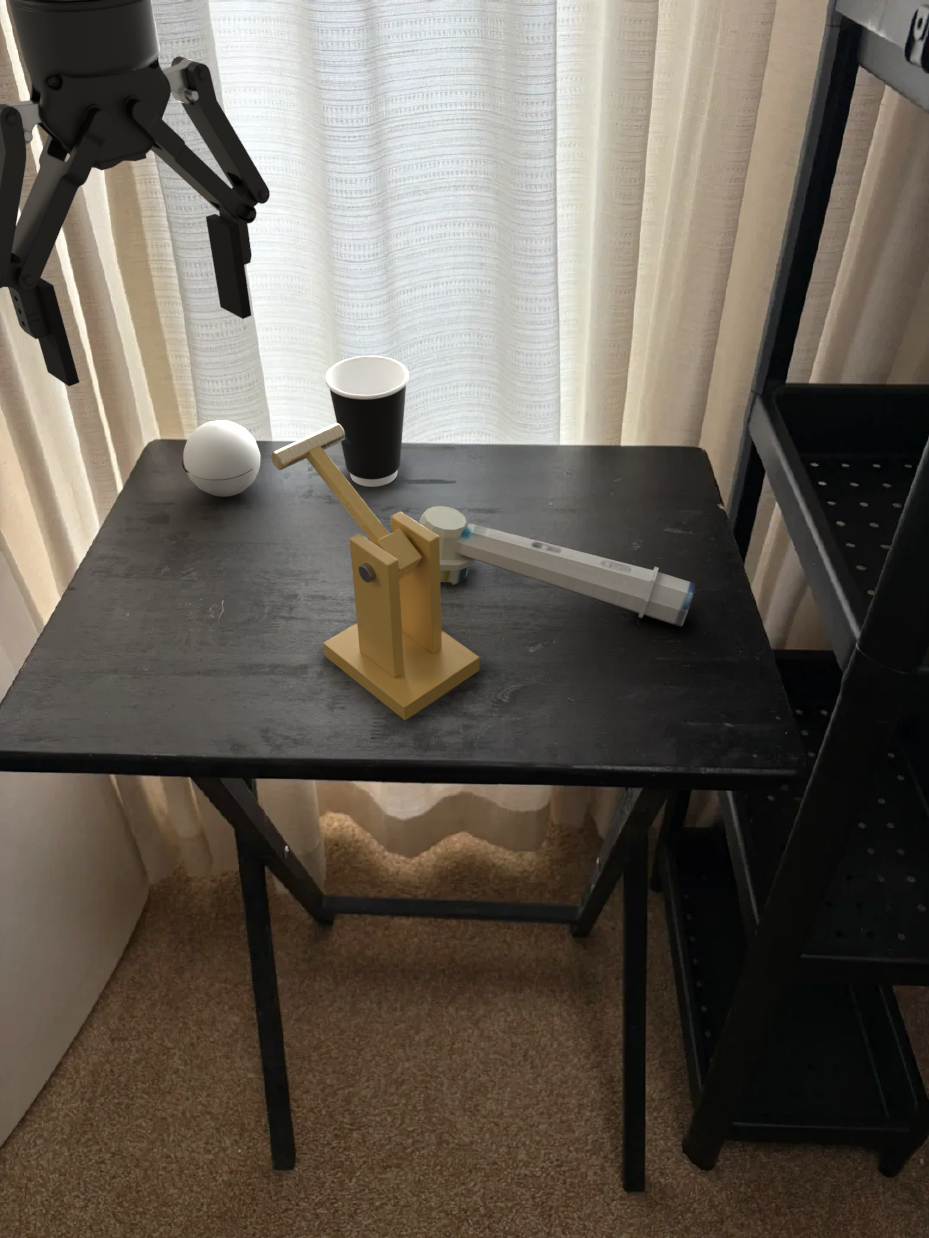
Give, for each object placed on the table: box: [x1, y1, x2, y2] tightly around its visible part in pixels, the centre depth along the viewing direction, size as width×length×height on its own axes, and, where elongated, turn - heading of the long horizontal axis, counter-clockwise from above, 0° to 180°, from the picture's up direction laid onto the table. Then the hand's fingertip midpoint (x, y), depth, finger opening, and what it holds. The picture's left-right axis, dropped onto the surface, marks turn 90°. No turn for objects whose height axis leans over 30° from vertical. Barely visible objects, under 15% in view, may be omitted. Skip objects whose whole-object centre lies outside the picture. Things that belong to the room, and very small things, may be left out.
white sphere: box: [181, 419, 261, 498], centre depth 100 cm, size 10×7×7 cm
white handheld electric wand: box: [418, 505, 697, 628], centre depth 90 cm, size 5×7×25 cm
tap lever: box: [270, 422, 422, 580], centre depth 79 cm, size 13×6×2 cm, turn 45°
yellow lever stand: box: [322, 511, 481, 721], centre depth 81 cm, size 10×8×13 cm
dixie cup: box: [324, 355, 410, 488], centre depth 102 cm, size 8×8×11 cm
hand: (154, 343), depth 71 cm, fingers open, 13 cm apart
